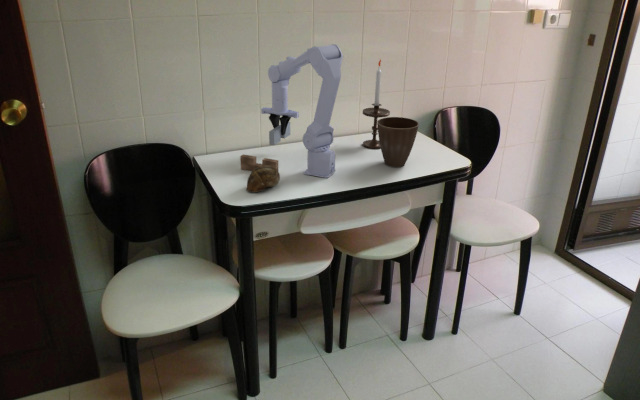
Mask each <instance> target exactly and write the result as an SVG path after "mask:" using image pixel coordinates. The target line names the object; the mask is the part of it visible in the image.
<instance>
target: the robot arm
mask: <svg viewBox="0 0 640 400" xmlns="http://www.w3.org/2000/svg"><path fill="white" fill-rule="evenodd" d="M343 58H344V55H343V52H342V50H341V48H340V46H338V44H333V43H331V44H330V45H329V44H328V45H320V46H312V47H310V48H307V49H306V51H304V52H302V53H301V54H300V55H298V56H297V57H295V56H291V55H290V56H287V57H286V58H285V60H283V61H279V62H278V64H277V65H274V64H273V65H270V66H269V68H268V70H267V75H268V79H269V80H270V82H271V106H272V107H261V108H260V113H261V114H262V115H266V114H267V115H269V116H268V120H269V121H270V122H271V125H272V129H274V128H276V127H277V126H279V125H281V135H285V132H286V128H287V125H288V122H290V121H291V118H294V119H298V118H299V117H300V113H299V111H296V110H293V109H292V110H291V109H289V108H288V106H289V105H288V100H289V99H288V98H289V97H288V92H289V91H288V90H289V89H288V86H289V84H290V79H291V77H293V76H294V75H296V74H298V73H300V72H301V69H302V67H304V66H306V65H308V64H310V66H311V67H312V68H313V69H314V71H315V72H316V73H317V75H318V76H319V77H321V78H322V82H321V86H320V91H319V93H318V94H319V95H318V100H317V103H316V108H315V109H316V110H315V112H314V118H313V121H312V122H311V123H310V124H309V125H308V126H307V127H306V131H305V133H303V136H302V143H303V146H304V148H305V149H306V150H307V169H305V170H304V171H303V172H302V173H303V175H307V176H308V175H309V176H313V177H320V178H325V179H328V178H330V177H331V175H333V174H334V172H336V152H335V150H331V149H330V147H331V145H332V144H333V142H334V130H335V129H334V127H333V126H332V124H330V123H331V120H332V115H333V111H334V106H335V102H336V98H337V93H338V91H339V87H340V83H341V78H342V77H341V75H342V72H341V71H342V70H341V68H342V63H343V60H344V59H343Z"/></svg>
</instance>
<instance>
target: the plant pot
mask: <svg viewBox="0 0 640 400" xmlns="http://www.w3.org/2000/svg"><path fill="white" fill-rule="evenodd" d="M419 124H420V123H419V122H418V121H417V120H414V119H413V118H408V117H401V116H387V117H381V118H380V119H379V118H378V119H377V126H378V130H377V133H378V134H377V135H378V140H379V142H380V147H381V149H380V151H381V154H382V158H383V161H384V163H385V165H386V166H387V167H391V168H401V167H404V166H405V165H406V163H407V161H408V159H409V157H410V154H411V152H412V150H413V147H414V144H415V141H416V137H417V134H418V130H419V126H420V125H419Z"/></svg>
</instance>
